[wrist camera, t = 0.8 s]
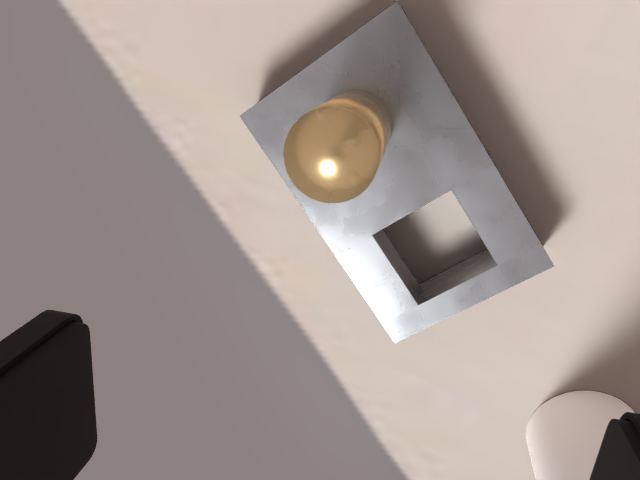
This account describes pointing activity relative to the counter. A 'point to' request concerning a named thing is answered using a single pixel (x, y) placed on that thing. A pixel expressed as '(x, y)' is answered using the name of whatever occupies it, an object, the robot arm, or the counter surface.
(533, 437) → the cylindrical container
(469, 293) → the jig plate
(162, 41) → the counter surface
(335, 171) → the tan cylindrical peg
